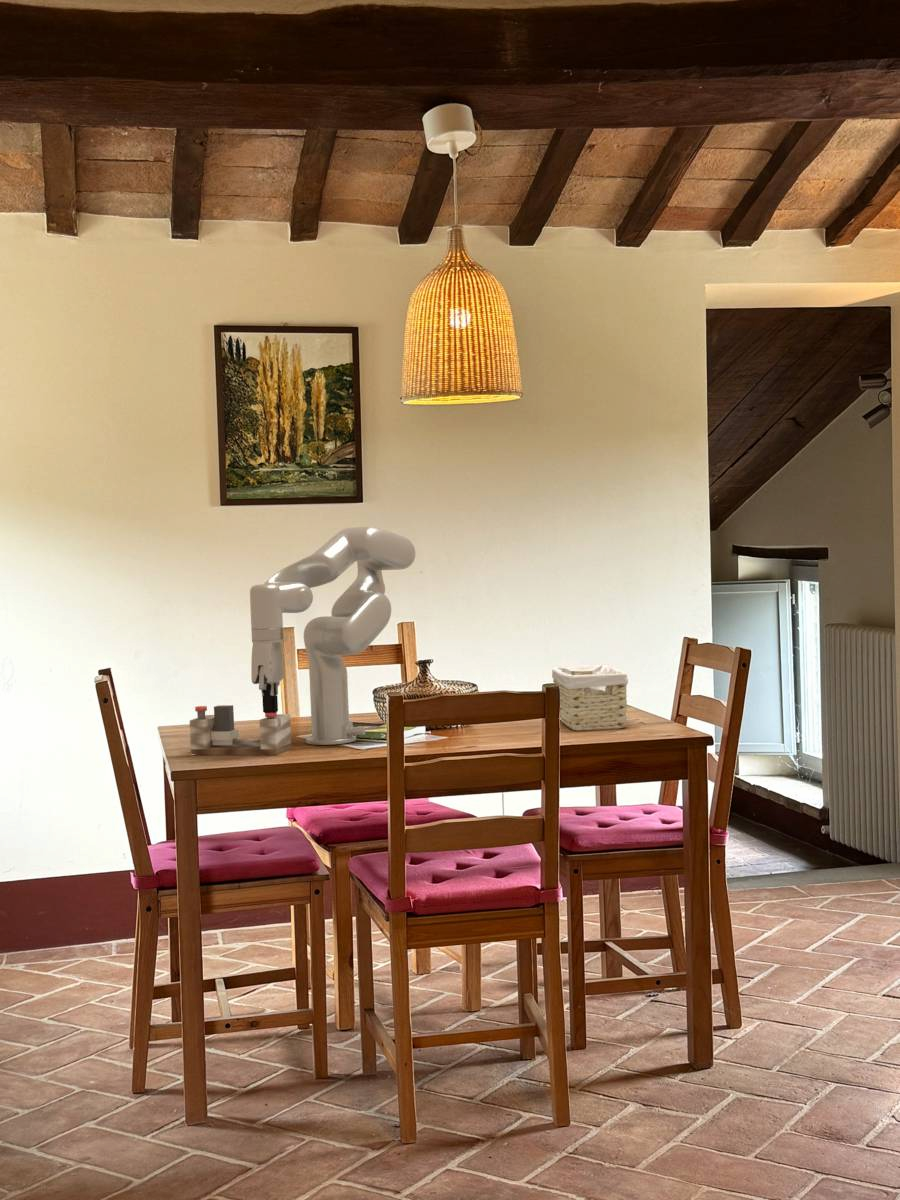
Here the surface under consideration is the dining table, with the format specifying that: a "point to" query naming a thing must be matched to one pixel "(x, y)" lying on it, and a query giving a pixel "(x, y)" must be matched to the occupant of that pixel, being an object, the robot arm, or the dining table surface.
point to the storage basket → (592, 696)
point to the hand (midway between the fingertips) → (270, 712)
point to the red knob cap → (271, 715)
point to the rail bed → (270, 743)
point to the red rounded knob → (201, 712)
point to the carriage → (224, 726)
